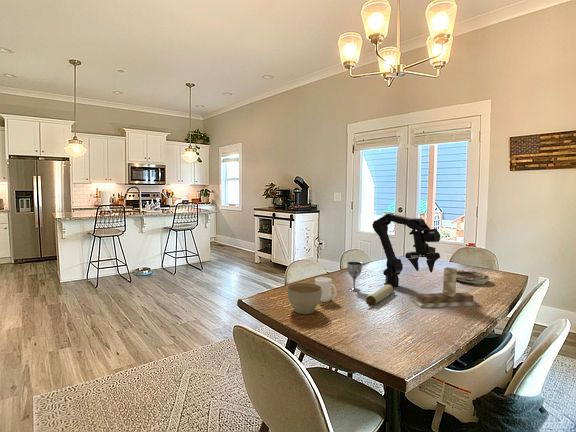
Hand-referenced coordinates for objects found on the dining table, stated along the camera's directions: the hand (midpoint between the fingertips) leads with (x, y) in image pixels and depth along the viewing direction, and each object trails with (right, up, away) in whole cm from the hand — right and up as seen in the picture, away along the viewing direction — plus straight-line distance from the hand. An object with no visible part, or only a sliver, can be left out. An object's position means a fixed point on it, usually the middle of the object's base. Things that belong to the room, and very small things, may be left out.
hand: (424, 271), depth 178 cm
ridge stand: (+5, -13, -13) cm, 19 cm away
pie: (+38, -11, +26) cm, 47 cm away
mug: (-53, -13, -9) cm, 55 cm away
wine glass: (-36, -12, +8) cm, 38 cm away
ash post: (+7, -9, -13) cm, 17 cm away
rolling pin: (-25, -13, -7) cm, 29 cm away
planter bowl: (-65, -14, -23) cm, 70 cm away
